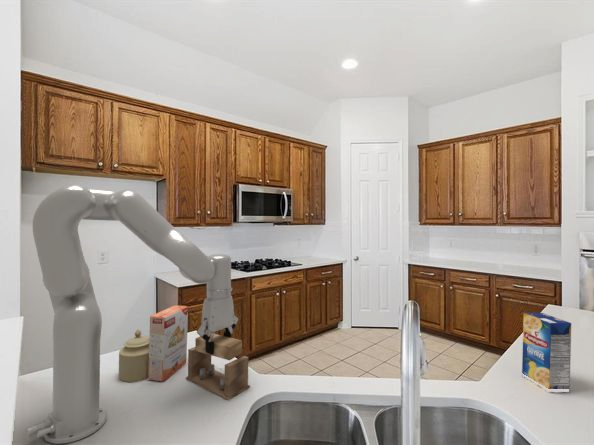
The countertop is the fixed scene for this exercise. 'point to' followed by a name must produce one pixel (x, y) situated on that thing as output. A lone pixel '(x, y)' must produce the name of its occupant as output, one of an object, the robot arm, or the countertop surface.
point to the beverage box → (546, 350)
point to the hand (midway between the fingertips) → (218, 348)
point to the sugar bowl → (134, 359)
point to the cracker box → (167, 342)
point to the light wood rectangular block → (221, 346)
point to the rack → (218, 375)
